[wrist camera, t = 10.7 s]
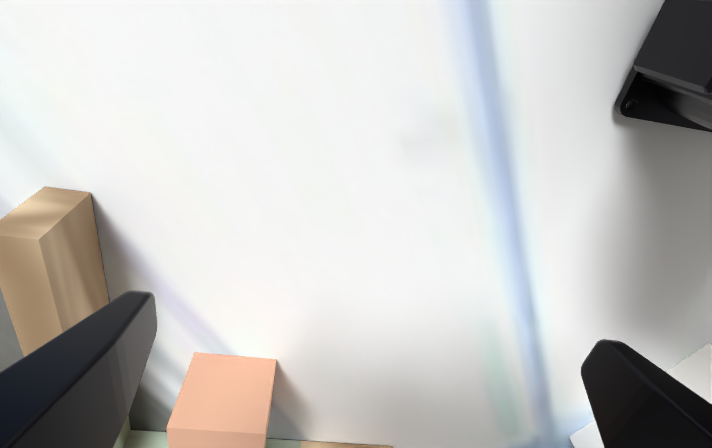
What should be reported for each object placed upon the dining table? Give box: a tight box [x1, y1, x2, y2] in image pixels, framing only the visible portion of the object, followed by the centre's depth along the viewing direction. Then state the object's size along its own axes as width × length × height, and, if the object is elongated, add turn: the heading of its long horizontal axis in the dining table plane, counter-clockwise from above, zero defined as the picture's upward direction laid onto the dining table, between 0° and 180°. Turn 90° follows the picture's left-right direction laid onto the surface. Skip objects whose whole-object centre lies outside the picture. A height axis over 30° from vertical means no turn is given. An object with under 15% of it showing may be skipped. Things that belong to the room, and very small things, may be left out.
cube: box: [167, 352, 277, 448], centre depth 25 cm, size 5×5×5 cm
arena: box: [0, 187, 393, 448], centre depth 24 cm, size 21×21×4 cm
